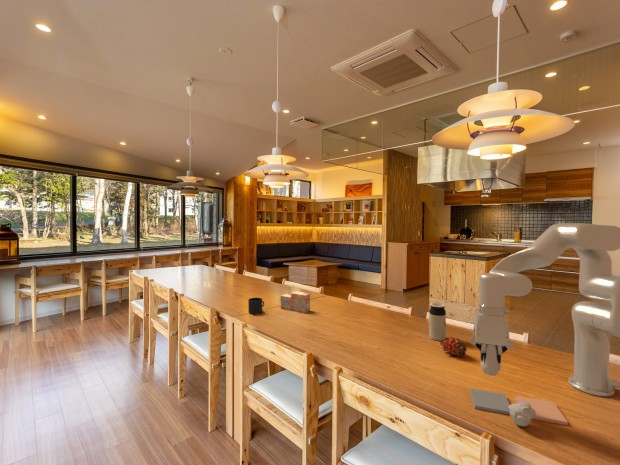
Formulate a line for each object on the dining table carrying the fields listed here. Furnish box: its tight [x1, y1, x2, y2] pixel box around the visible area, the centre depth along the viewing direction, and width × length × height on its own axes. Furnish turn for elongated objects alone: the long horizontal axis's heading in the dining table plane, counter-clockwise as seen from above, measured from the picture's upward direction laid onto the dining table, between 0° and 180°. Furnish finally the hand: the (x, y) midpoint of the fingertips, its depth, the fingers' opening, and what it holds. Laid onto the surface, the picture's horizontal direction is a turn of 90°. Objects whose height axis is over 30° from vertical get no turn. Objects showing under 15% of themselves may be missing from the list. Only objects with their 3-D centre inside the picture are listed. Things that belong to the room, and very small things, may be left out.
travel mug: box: [428, 302, 447, 342], centre depth 161 cm, size 8×8×18 cm
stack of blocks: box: [280, 291, 311, 314], centre depth 217 cm, size 21×6×12 cm, turn 58°
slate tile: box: [469, 388, 511, 416], centre depth 104 cm, size 11×11×1 cm
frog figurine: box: [508, 402, 536, 427], centre depth 93 cm, size 6×7×7 cm
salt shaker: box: [480, 344, 501, 377], centre depth 104 cm, size 6×6×13 cm
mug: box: [247, 297, 265, 315], centre depth 212 cm, size 9×12×9 cm
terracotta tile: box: [514, 395, 569, 426], centre depth 99 cm, size 11×11×1 cm
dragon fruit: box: [439, 336, 468, 357], centre depth 142 cm, size 8×8×12 cm
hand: (490, 363), depth 104 cm, fingers closed on salt shaker, 3 cm apart
